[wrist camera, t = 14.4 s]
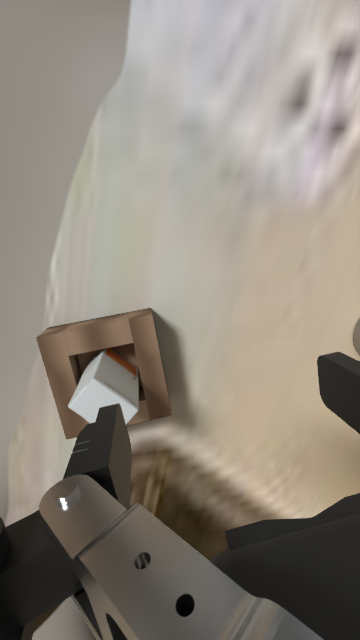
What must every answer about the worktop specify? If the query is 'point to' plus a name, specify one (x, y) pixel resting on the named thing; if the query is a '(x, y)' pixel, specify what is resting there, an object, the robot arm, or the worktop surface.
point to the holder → (85, 343)
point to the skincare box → (107, 386)
